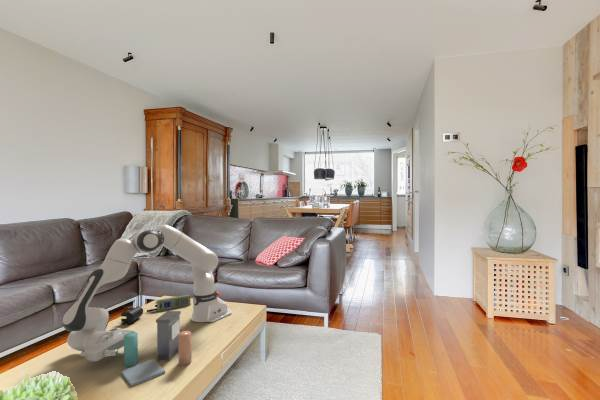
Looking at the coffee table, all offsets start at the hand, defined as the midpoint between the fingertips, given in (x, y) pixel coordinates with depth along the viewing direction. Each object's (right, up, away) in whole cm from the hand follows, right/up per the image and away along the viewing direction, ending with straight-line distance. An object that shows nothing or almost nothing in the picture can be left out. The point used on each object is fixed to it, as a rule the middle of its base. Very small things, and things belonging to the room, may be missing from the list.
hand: (126, 347), depth 128 cm
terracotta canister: (+24, -6, 0) cm, 25 cm away
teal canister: (+2, -6, -1) cm, 7 cm away
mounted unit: (+15, -6, +6) cm, 18 cm away
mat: (+11, -6, -8) cm, 15 cm away
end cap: (-21, -6, +44) cm, 49 cm away
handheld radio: (-9, -6, +62) cm, 63 cm away
